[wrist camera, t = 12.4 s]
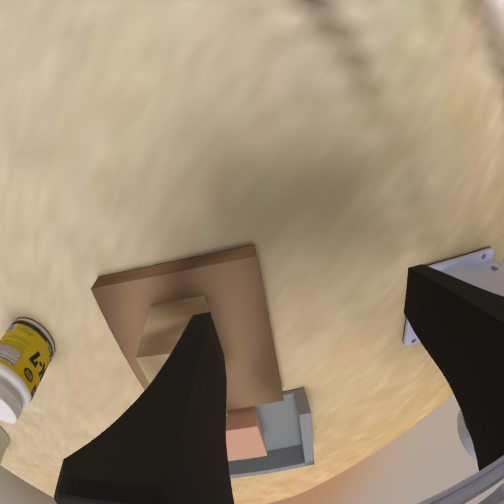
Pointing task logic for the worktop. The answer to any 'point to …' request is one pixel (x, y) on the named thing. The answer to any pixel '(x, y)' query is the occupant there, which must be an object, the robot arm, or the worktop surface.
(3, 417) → the supplement bottle
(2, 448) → the can
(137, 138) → the worktop surface
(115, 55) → the worktop surface
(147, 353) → the tall beige block
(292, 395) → the tray
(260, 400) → the board
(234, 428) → the pink square block
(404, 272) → the worktop surface
